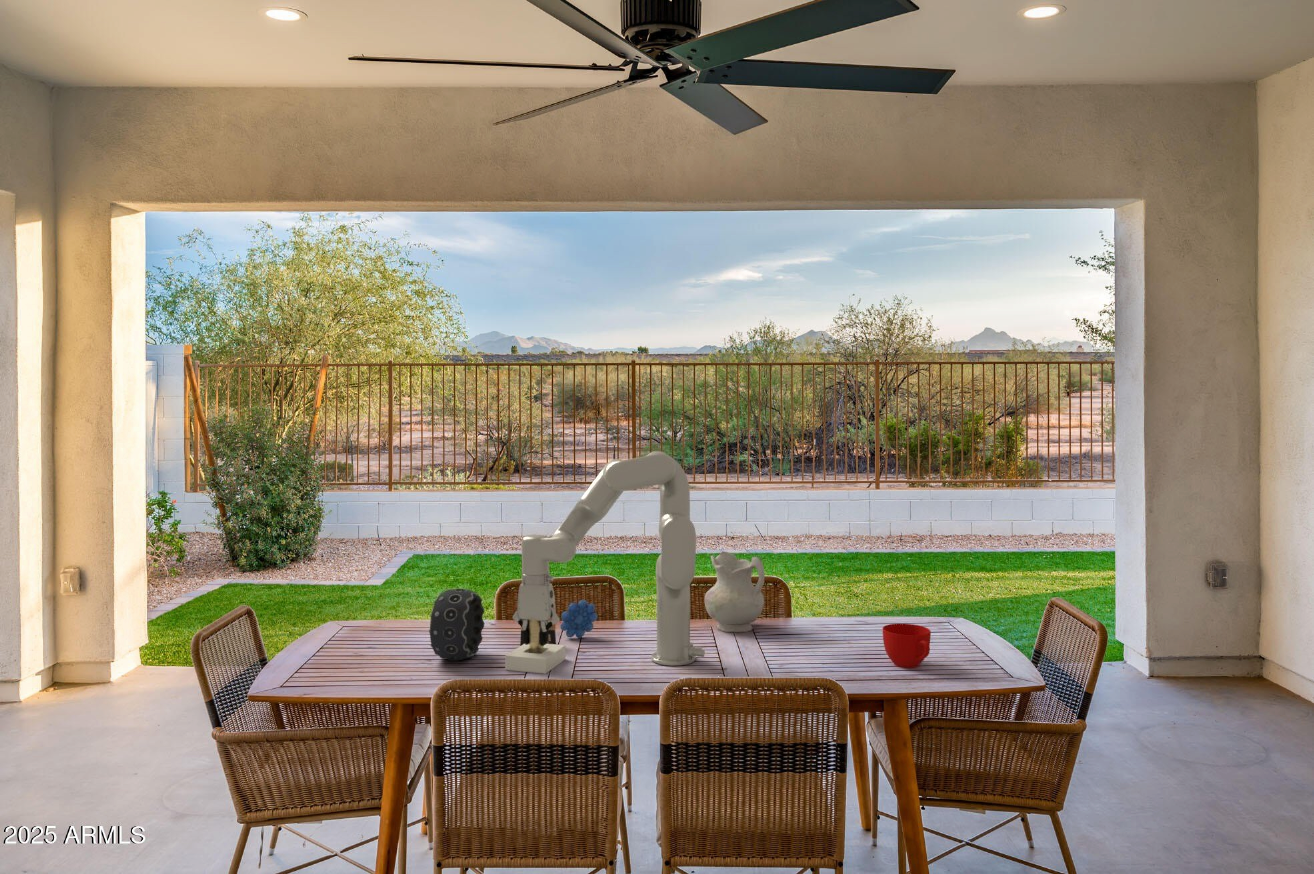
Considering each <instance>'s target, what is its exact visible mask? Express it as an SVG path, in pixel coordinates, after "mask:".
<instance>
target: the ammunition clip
mask: <svg viewBox="0 0 1314 874" xmlns="http://www.w3.org/2000/svg"><path fill="white" fill-rule="evenodd" d="M550 621H552V618H550V619H549V622H550ZM519 641H520V642H519V644H520V645H519V647H520V646H522V645H523V644H525V641H524V630H522V627H521V626H520V640H519ZM547 644H556V645H557V636H556V623H555V624H554V625H553V626H552V627H551V628H550V629H549V630H548V642H547Z"/></svg>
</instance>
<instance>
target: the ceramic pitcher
mask: <svg viewBox="0 0 1314 874" xmlns="http://www.w3.org/2000/svg"><path fill="white" fill-rule="evenodd" d="M710 561H711V563H712V566H713V568H714V570H715V572H716V582H715V584H714V585H713V586H712V587H711V588H710V589H708V591H706V593H705V594H704V604H705V610H706V612H707V614H708V615H709V617H710V618H711V619H712V620H713V621H715V622H717V623H718V624H717V626H716V629H718V630H719V631H721V632H724V633H746V632H749V631H753V626H752V625H751V623H754V622H755V621H756V620H758V618H759V617H760V615H761V613H762V612H763V609H764V605H765V599H764V598H765V597H764V593H762V589H763V586H764V584H765V567H764V564H763V561H762V558H761V557H760V556H751V561H749V560H748V559H744V558H741V559H740V558H739V559H738V558H737V557H736V555H735V553H730V552H728V551H721V552H719V553H718V555H717V556H716V557H715V556H714V555H710ZM754 569H756V570H757V573H758V574H757V575H758V579H757V582H756V584H755V585H754V584H753V582H752V576H753V575H752V574H753V572H754Z"/></svg>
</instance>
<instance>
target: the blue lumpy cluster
mask: <svg viewBox="0 0 1314 874" xmlns="http://www.w3.org/2000/svg"><path fill="white" fill-rule="evenodd" d="M595 609H596V606H595V604H594V603H588V601H587V600H586V599H581V600H579V601H578V602H577V603H576V602H571V603H570V604H569V605H568V607H567V610H565V611H564V612H562V614H561V617H560V618H561V619H560V620H562V621H563V622H561V624H560V629H561V631H563V632H565V636H566V637H567V638H572V637H574V636H575V637H576V638H579V639H581V638H582V637H584V636H585V633H589V632H591V631H592V630H593V629H594V622H596V621H597V620H598V614H597V613H596V612H594V611H595Z"/></svg>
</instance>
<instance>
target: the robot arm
mask: <svg viewBox="0 0 1314 874" xmlns="http://www.w3.org/2000/svg"><path fill="white" fill-rule="evenodd" d="M653 486H658V489H659V505H660V506H659V522H658V523H659V524H658V534H659V536H660V538H661V546H660V547H661V548H660V549H661V551H660V553H661V554H659V556H658V558H657V560H656V563H655V579H656V581H655V582H656V651H655V652H654V653H652V654H651V661H652V662H653V663H655V664H658V665H663V666H671V667H672V666H674V667H675V666H685V665H689V664H691V663H694V662H695V660H696V657H700V658H704V657H705V649H703V648H702V647H701V648H700V647H695V646H694V642H691V587H690V584H692V581H694V580H693V579H694V578H695V573H696V556H697V554H696V552H697V533H696V527H695V526H694V522H693V521H692V520H691V504H690V503H691V500H690V499H691V494H690V493H691V491H690V490H691V489H690V482H689V480H688V477H687V474H686V473H685V471H684V469H683V467H682V465H680V463H679V462H678V461H677V460H675V459H674V458H673V457H672V456H670V455H669V454H667V453H665V452H664V451H658V450H654V451H651V452H649V453H648V454H646V455H645V456H639V457H634V458H629V459H623V458H622V459H621V458H614V459H611V460H610V461H608V462H607V463H606V464H605V466H603V468H602V469H601V471H599V473H598V475H596V477H595V479H593V481H592V483H591V484H590V486H589V487H588V488H587V489H586V490H585V491H584V493H583V494H582V496H581V497H580V498H579V500H578V501H577V503H576V504H575V506H574V507H573V509H572V510H571V511H570V512H569V514H567V516H566V518H565V519H564V520H563V521H562V522H561V523H560V526H559V527H558V528H557V529H556V531H555V532H554V533H553V535H552V536H551V537H548V536H546V535H542V534H530V535H526V536H524V537H523V538H522V540H521V583H520V585H519V587H518V594H517V601H516V602H517V603H516V605H517V606H516V607H517V608H516V611H515V612H514V613H513V616H512V619H513V621H515V622H516V623H518V625H519V626H520V628H521V627H522V630H524V641H525V645H528V644H529V620H532V619H534V620H537V621H541V627H542V632H540V645H541V646H544V645H546V644H547V642H548V630H549V629H550V628H551V627H552V626H553V625H554V624H555V625H556V624H557V623H559V622H560V620H561V619H560V617H559V616H558V614H557V613H556V612H557V611H556V610H557V609H556V601H555V600H556V599H555V591H554V586H553V584H552V582H553V581H554V576H553V575H551V573H550V562H552V563H559V564H560V563H562V564H565V563H568V562H570V561H572V560H573V559H574V557H575V555H576V553H577V546H578V545H579V543H580V542H581V541H582V539H583V538H584V537H585V535H586V534H587V533H588V532H589V531H590V529H591V528H592V527H593V526H595V524H597V523H598V522H600V521H601V520H603V518H605V517H606V515H607V514H608V512H610V510H611V509H612V507H613V506H614V505H615V504H616V502H617V500H618V499H620V496H621V495H622V494H623V493H624V492H626V491H633V490H638V489H642V488H649V487H653ZM550 582H551V583H550ZM550 618H552V621H550Z"/></svg>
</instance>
